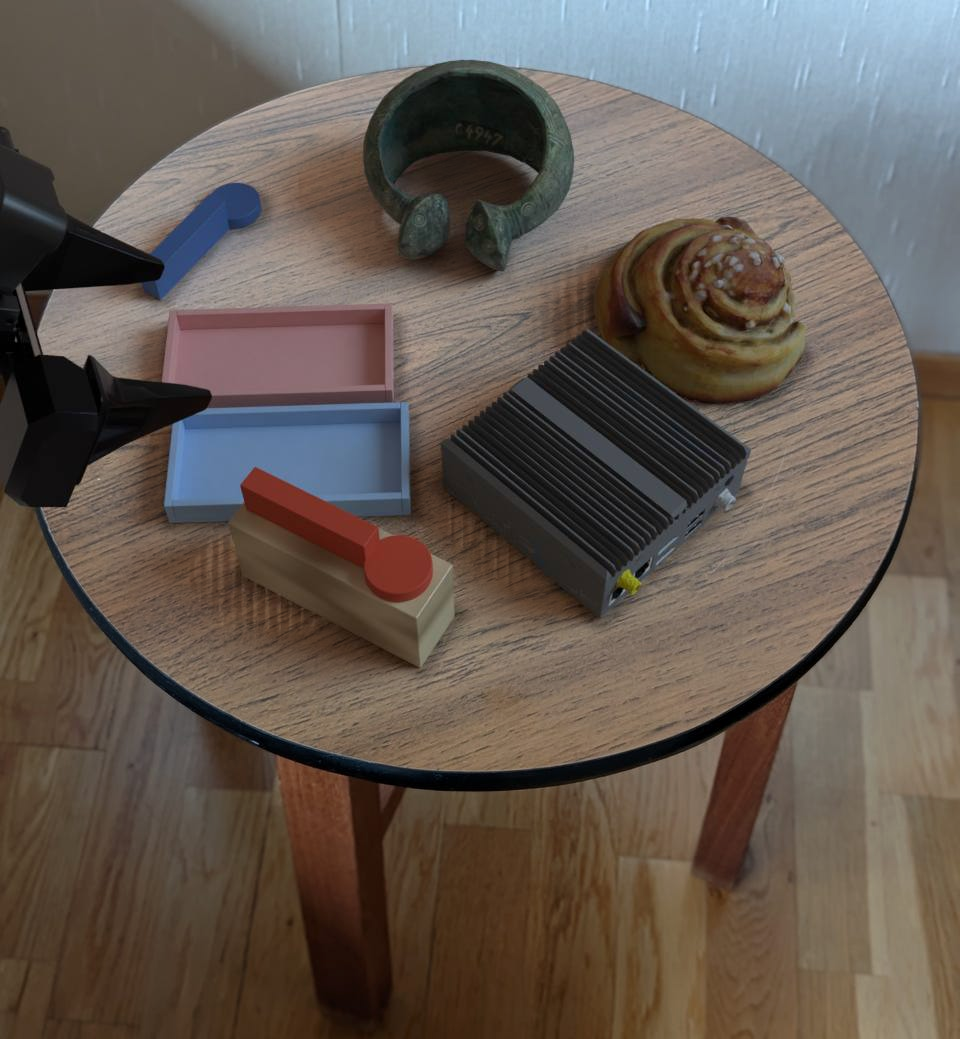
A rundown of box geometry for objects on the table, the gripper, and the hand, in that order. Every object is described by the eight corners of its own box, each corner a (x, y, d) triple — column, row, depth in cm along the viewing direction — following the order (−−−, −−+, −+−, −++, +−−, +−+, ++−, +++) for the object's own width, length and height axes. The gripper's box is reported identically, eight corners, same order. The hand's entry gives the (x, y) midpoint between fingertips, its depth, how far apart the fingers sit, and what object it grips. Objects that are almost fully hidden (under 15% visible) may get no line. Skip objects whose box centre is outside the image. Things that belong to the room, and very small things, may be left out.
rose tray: (165, 415, 88) (159, 397, 86) (175, 328, 92) (169, 309, 90) (394, 407, 88) (392, 389, 86) (393, 321, 92) (391, 303, 90)
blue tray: (169, 523, 83) (163, 506, 81) (179, 426, 87) (173, 409, 85) (410, 515, 83) (409, 498, 82) (409, 419, 87) (408, 401, 86)
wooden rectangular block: (455, 616, 79) (453, 564, 74) (420, 668, 78) (416, 619, 72) (279, 528, 83) (266, 472, 78) (242, 576, 81) (226, 522, 76)
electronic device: (612, 632, 79) (620, 589, 75) (435, 481, 85) (433, 434, 80) (752, 503, 84) (766, 456, 80) (575, 369, 90) (580, 319, 85)
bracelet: (349, 275, 94) (337, 166, 86) (381, 131, 103) (373, 19, 94) (561, 292, 93) (570, 184, 85) (577, 146, 102) (585, 35, 93)
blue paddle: (230, 185, 99) (224, 159, 97) (272, 204, 98) (267, 178, 96) (130, 286, 94) (122, 260, 92) (173, 306, 93) (166, 281, 91)
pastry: (762, 430, 87) (786, 350, 80) (557, 345, 91) (563, 262, 84) (835, 296, 93) (862, 212, 87) (640, 222, 97) (652, 136, 90)
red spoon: (445, 562, 74) (444, 538, 72) (410, 613, 73) (408, 591, 71) (272, 476, 78) (266, 451, 76) (234, 524, 76) (227, 499, 74)
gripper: (-84, 321, 48) (300, 352, 57) (-150, 17, 58) (188, 86, 67) (-135, 515, 55) (214, 515, 65) (-187, 216, 65) (124, 253, 74)
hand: (184, 333), depth 67 cm, fingers open, 9 cm apart
